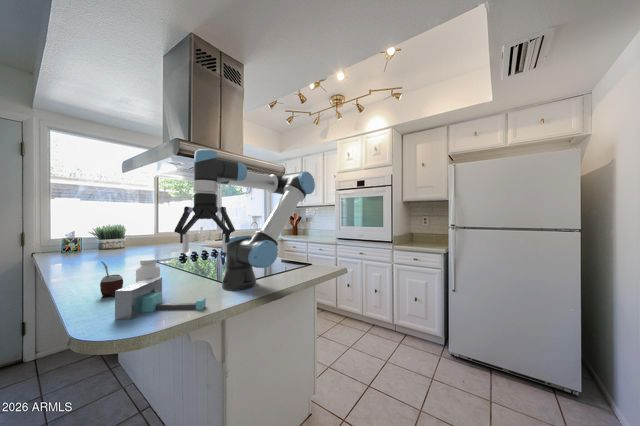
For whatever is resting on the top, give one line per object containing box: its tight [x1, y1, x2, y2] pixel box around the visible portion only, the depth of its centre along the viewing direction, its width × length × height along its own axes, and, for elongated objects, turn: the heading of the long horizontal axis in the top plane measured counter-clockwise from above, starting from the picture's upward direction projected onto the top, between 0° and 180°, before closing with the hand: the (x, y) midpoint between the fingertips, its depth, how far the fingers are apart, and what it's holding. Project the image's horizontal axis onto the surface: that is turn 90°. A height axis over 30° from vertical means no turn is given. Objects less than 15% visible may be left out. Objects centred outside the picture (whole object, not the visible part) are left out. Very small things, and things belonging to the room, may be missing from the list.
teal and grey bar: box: [141, 293, 207, 313], centre depth 84 cm, size 21×5×5 cm, turn 93°
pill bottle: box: [135, 257, 161, 283], centre depth 97 cm, size 8×8×15 cm
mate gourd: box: [99, 261, 124, 299], centre depth 97 cm, size 8×8×15 cm
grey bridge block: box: [114, 277, 163, 320], centre depth 84 cm, size 5×16×9 cm, turn 3°
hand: (205, 252), depth 86 cm, fingers open, 13 cm apart
